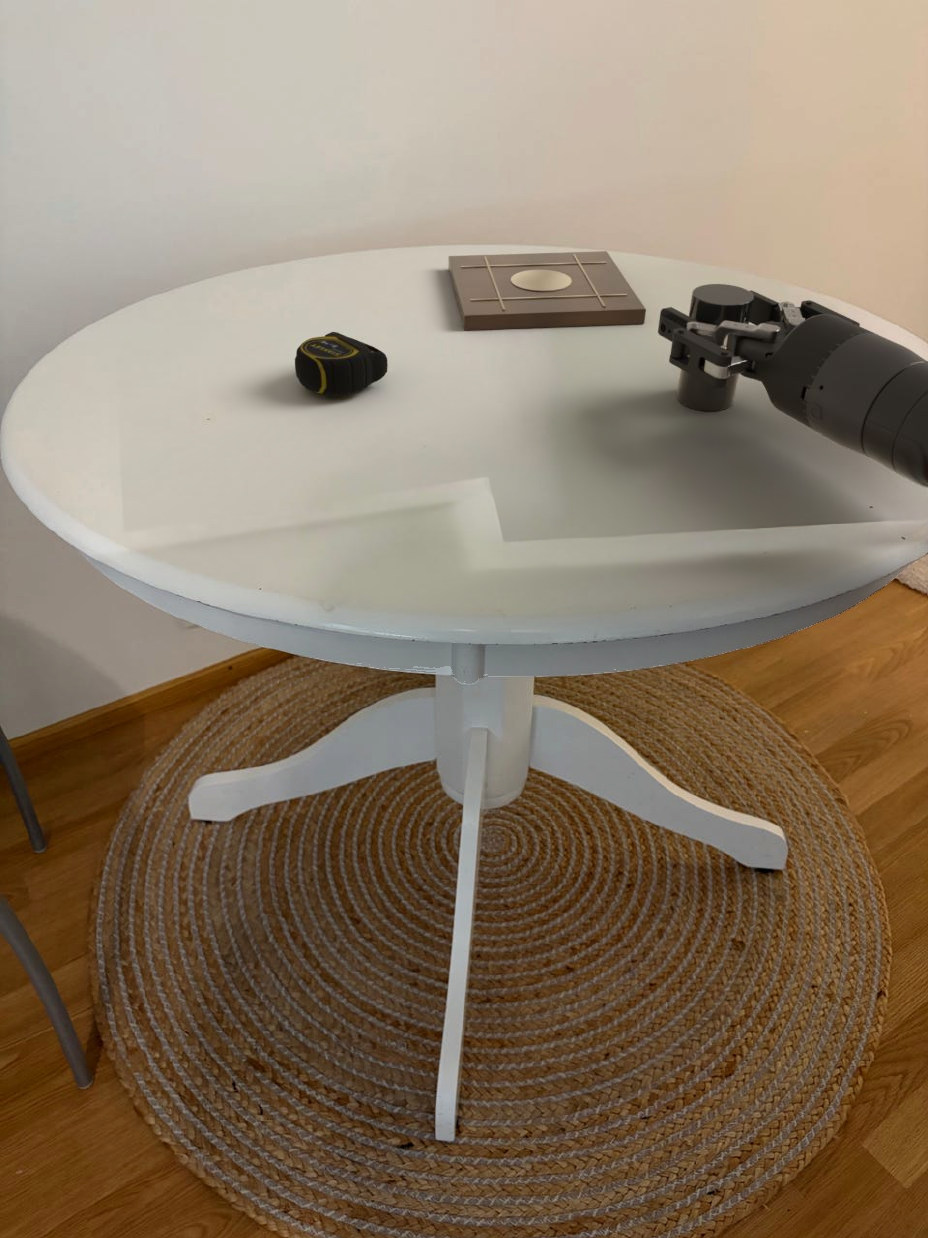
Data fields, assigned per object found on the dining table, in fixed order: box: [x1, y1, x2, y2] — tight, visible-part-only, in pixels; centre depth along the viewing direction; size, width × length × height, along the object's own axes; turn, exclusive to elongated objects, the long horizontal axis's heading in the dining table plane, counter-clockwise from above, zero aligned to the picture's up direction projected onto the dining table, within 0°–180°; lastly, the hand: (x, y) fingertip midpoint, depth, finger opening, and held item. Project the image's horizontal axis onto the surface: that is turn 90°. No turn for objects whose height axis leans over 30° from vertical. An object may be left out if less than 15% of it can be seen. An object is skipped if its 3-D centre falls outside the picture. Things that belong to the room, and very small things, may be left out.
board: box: [448, 250, 647, 331], centre depth 100 cm, size 18×18×2 cm
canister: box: [676, 283, 754, 412], centre depth 79 cm, size 5×5×9 cm
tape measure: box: [294, 331, 389, 397], centre depth 82 cm, size 7×7×4 cm
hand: (703, 310), depth 78 cm, fingers open, 8 cm apart
